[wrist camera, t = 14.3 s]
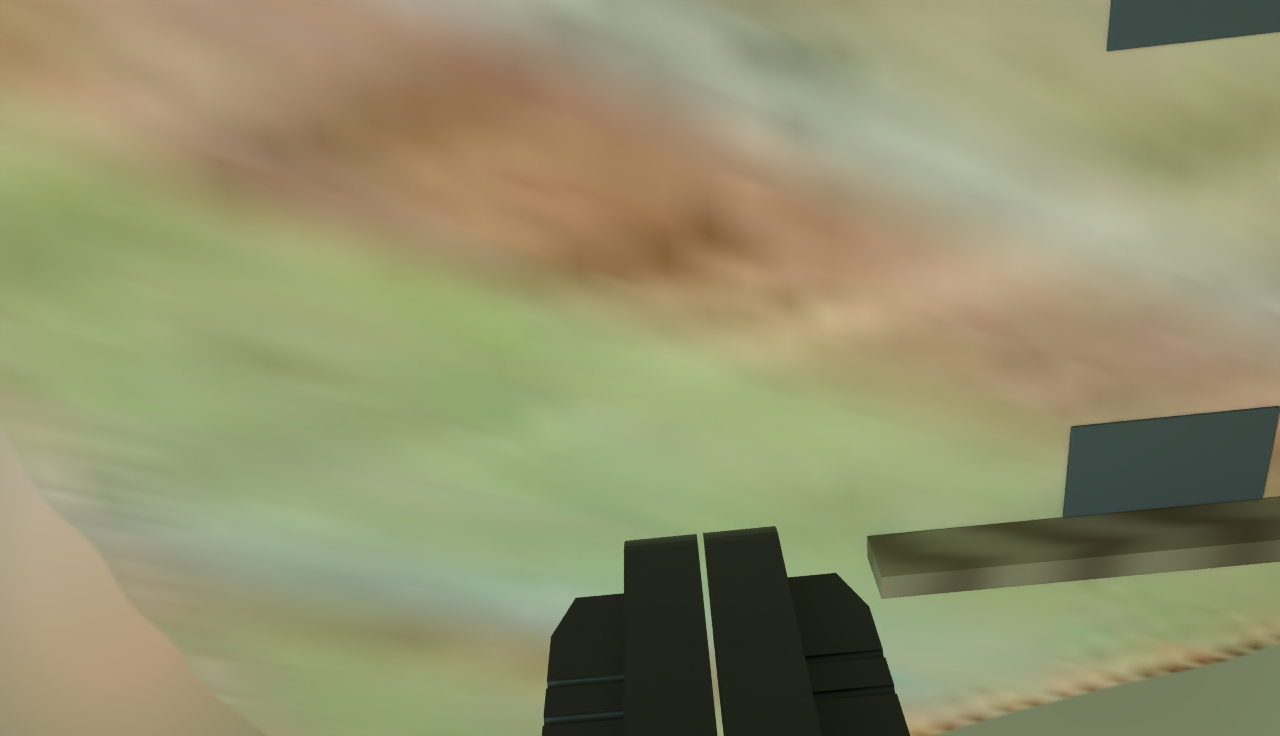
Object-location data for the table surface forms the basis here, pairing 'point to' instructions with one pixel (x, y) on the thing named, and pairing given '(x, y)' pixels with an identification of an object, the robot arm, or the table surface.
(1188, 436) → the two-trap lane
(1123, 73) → the table surface
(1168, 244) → the table surface
